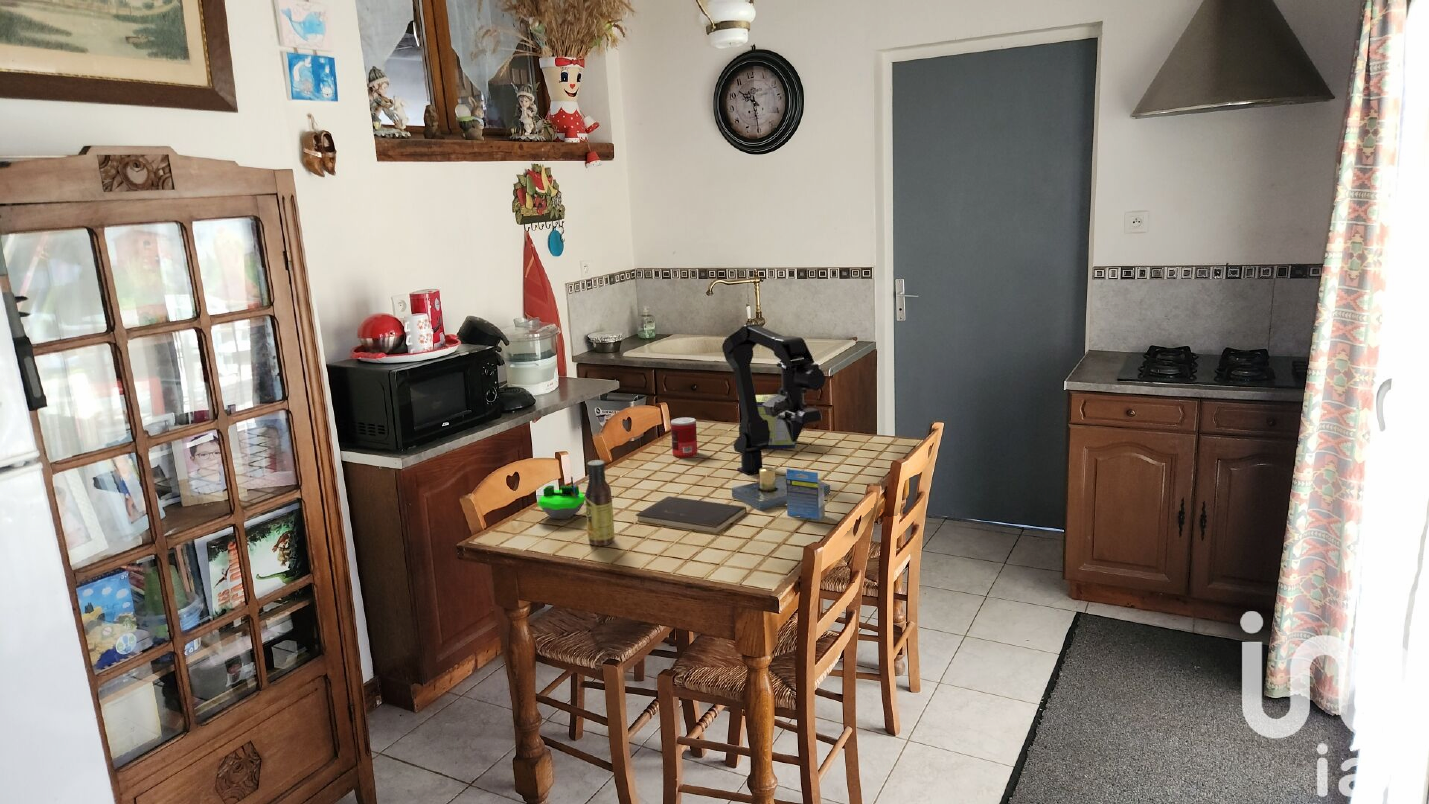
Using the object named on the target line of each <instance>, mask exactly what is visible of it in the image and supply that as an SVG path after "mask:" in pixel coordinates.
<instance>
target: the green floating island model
mask: <svg viewBox="0 0 1429 804" xmlns="http://www.w3.org/2000/svg"><path fill="white" fill-rule="evenodd" d="M570 482H571V485H568V484H567V485H565V484H563V485H562V484H561V485H560V486H559V488H558V489H555V486H554V485H547V486H545V487H544V489H543V495H542V496H539V499H538V502H537V505H538V506H539V507H540V508H541V509H542V511H544V513H545V514H547V515H548V516H549V517H550V518H551V519H553V520H554V519H555V520H557V519H558V520H569V518H572V517H573V516H575V515H576V514H577V513H579V512H580V511H581V509H582V507H583V505H584V503H585V494H583V492H582V491H580V490H579V487H580V486H579V485H575V484H574V479H573V476H571V477H570Z"/></svg>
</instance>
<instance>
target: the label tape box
mask: <svg viewBox="0 0 1429 804" xmlns="http://www.w3.org/2000/svg"><path fill="white" fill-rule="evenodd" d="M785 469H786V470H785V473H786V474H785V475H786V489H787V505H786V510H787V516H789V517H794V516H800V517H799V518H803V517H805V518H806V519H810V518H811V519H812V520H818V519H819V520H821V519H823V517H825V515H826V508H825V495H824V484H823V483H819V482H818V480H819V472H816V471H815V472H814V471H807V470H801V469H790V468H785ZM801 474H803V475H804V476H807V478H800V477H797V476H796V475H801ZM819 520H818V521H819Z"/></svg>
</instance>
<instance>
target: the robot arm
mask: <svg viewBox="0 0 1429 804" xmlns="http://www.w3.org/2000/svg"><path fill="white" fill-rule="evenodd" d="M757 345H759V346H762V347H764V348H766V349H769V350H770V351H773V355H774V356H775V357H776V358H777V359H778V360H779V361H778V362H777V363H776V367H777V368H780V369H781V387H780V388H778V389H777V394H776V395H777V396H775V397H773V398H771V399H769V400H768V401H766V402H764V403H763V407H764V410H765V413H766V415H770V416H771V417H776V416H778V417H779V418H780V419H782V420H783V421H784V422H785V424H786V427H787V429H788V432H789V435H790V438H791V441H792V442H796V443H797V441H798V439H799V437H800V435H801V432H802V430H803V429H804V426H806V424H809V423H813V422H814V423H816V422H819V421H822V420H823V419H822V418H823V417H822V414H823V413H822V412H821V411H820V409H816V408H813V407H808V403H806V402H805V401H804V400H805V399H804V398H805V397H804V394H806V393H807V391H808V390H810V391H816V392H817V391H820V390H821V389H822V388H823V387H824V385H825V383H826V376H825V373H824V371H823V370H822V369H820V365H819V364H818V363H815V361H814V358H813V355H812V353H811V352H810V349H809V348H808V345H807V343H806V342H805V339H804V338H803V337H799V336H794V335H793V336H792V335H789V336H788V335H781V334H779V333H777V332H774V331H772V330H769V329H768V328H766V327H762V326H761V325H760V324H758V323H750V324H745V325H743V326H741V327H740V328H739V329H738V330H737V331H735V332H734V333H732V334H731V335H729V336H728V337H726V338H725V339H724V340H723V342H722V345H721V349H722V352H723V355H724V360H725V361H726V362H727V363H728V365H729V366H730V367H731V368H732V372H733V375H734V381H735V386H736V392H737V396H738V403H739V407H740V413H741V420H740V423H739V426H738V433H739V434H738V435H739V436H738V437H737V438H736V440H735V441H734V443H733V449H734V451H735V452H736V453H740V458H741V467H737V468H736V470H737V471H739V472H741V473H743V474H745V475H753V474H757V473H758V474H760V471H759V469H761V468H764V467H763V455H762V454H763V453H762V451H763V450H768V449H767V448H768V443H769V439H770V430H769V426H768V421H767V420H763V418H762V417H761V416H760V415H759V411H758V405H757V400H756V395H757V394H756V392H755V385H754V380H753V374H752V369H751V362H752V360H753V357H754V348H755V347H756V346H757ZM779 414H780V415H779Z"/></svg>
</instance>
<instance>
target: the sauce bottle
mask: <svg viewBox="0 0 1429 804" xmlns="http://www.w3.org/2000/svg"><path fill="white" fill-rule="evenodd" d="M605 462H606V461H604V460H601V459H595V460H590V461H589V462H587V466H586V467H587V470H588V482H587V486H586V490H585V493H584V497H585V502H584V503H585V513H586V516H585V517H586V529H587V538H588V542H589V543H590V544H591V545H592V546H598V547H599V546H608V545H610V544H612V543H613V542H614V540H615V524H614V523H615V522H614V521H615V520H614V511H613V510H614V509H613V508H614V507H613V499H612V491H611V487H610V485H609V484H608V482H607V480H606V473H605V469H606V466H605V465H606V463H605Z"/></svg>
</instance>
